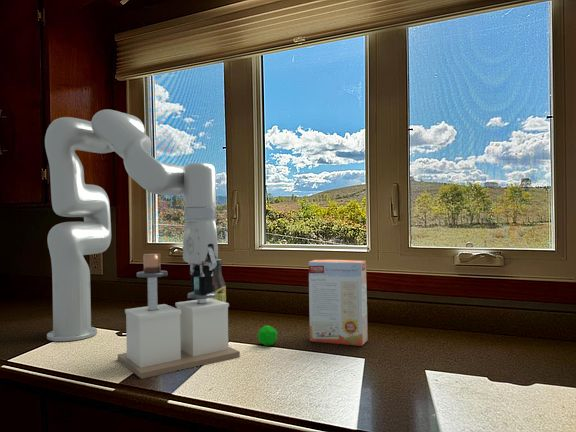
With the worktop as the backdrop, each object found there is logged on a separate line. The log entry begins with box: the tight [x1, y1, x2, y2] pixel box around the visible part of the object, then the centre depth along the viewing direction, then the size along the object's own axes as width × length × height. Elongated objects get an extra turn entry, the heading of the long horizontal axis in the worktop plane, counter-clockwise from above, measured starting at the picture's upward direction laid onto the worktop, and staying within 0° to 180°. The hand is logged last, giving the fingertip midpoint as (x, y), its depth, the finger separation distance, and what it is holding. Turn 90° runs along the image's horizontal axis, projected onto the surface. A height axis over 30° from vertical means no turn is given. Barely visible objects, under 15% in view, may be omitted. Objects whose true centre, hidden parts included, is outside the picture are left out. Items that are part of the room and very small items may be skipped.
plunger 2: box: [187, 276, 216, 304], centre depth 110 cm, size 7×7×14 cm
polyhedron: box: [257, 324, 278, 347], centre depth 116 cm, size 5×5×5 cm
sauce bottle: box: [207, 258, 227, 303], centre depth 136 cm, size 7×6×20 cm
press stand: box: [117, 298, 241, 380], centre depth 106 cm, size 16×23×12 cm
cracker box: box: [308, 259, 369, 347], centre depth 119 cm, size 14×6×21 cm, turn 67°
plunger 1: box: [136, 253, 169, 311], centre depth 103 cm, size 7×7×14 cm
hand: (201, 291), depth 110 cm, fingers closed on plunger 2, 3 cm apart
